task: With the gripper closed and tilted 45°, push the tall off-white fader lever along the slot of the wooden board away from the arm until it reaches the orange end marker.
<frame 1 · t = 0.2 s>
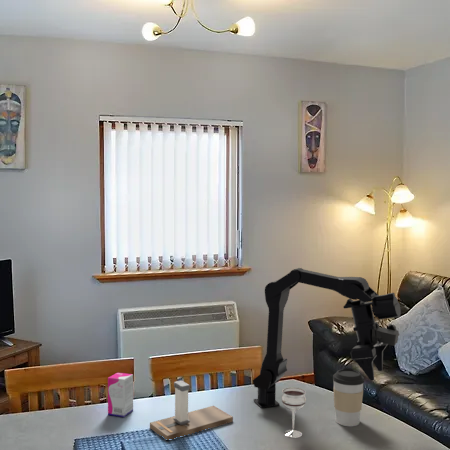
hand: (376, 375, 154), 15 cm above the table, tool pointing down, fingers open, 9 cm apart
fader lever: (181, 402, 153), point 7 cm above the table, slide at 0.0 cm
wooden board: (191, 424, 155), on the table
coffee cup: (347, 421, 159), on the table
wineglass: (293, 434, 150), on the table
supplement box: (120, 413, 163), on the table
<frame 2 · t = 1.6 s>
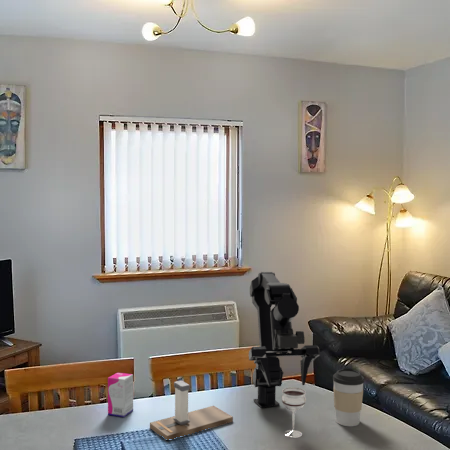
hand: (286, 385, 143), 16 cm above the table, tool tilted 30°, fingers open, 9 cm apart
nothing on the table moved.
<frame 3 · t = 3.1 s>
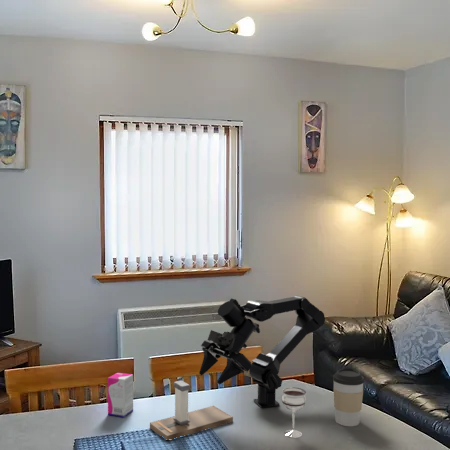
hand: (209, 378, 158), 13 cm above the table, tool tilted 45°, fingers open, 9 cm apart
nothing on the table moved.
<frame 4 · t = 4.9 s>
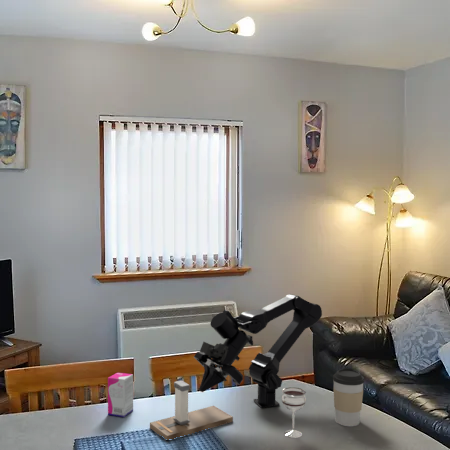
hand: (200, 391, 157), 9 cm above the table, tool tilted 45°, fingers closed
nothing on the table moved.
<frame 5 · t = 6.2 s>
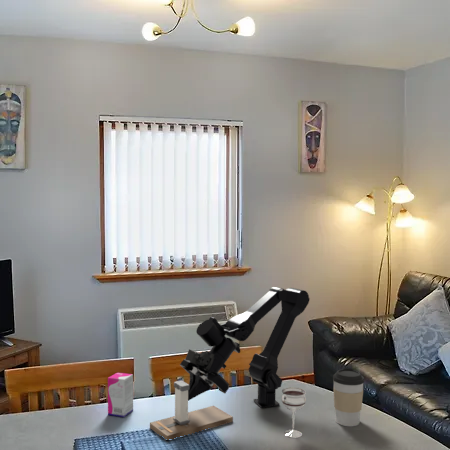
hand: (186, 399, 154), 8 cm above the table, tool tilted 45°, fingers closed, pressing on fader lever
fader lever: (181, 402, 153), point 7 cm above the table, slide at 0.0 cm, touching gripper
everything else where it was.
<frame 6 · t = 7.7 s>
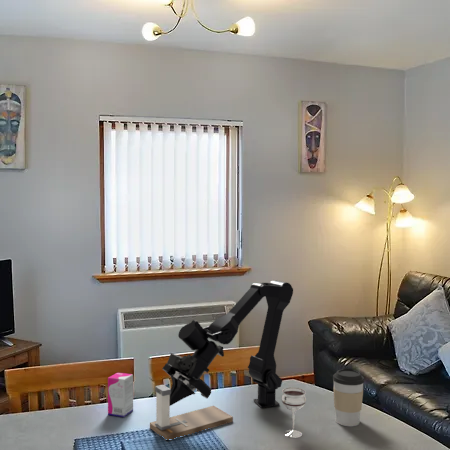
hand: (167, 404, 150), 8 cm above the table, tool tilted 45°, fingers closed, pressing on fader lever
fader lever: (162, 407, 150), point 7 cm above the table, slide at 6.0 cm, touching gripper
everything else where it was.
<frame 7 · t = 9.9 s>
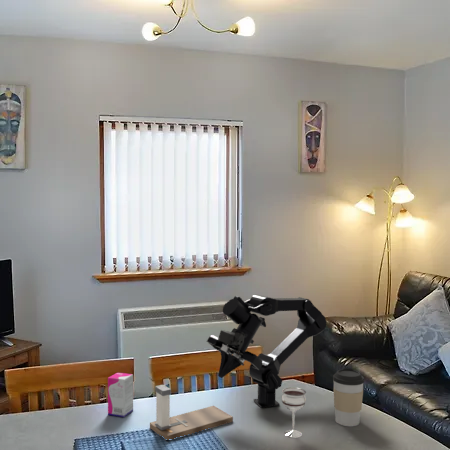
hand: (219, 377, 160), 12 cm above the table, tool tilted 40°, fingers closed
fader lever: (162, 407, 150), point 7 cm above the table, slide at 6.0 cm
everything else where it was.
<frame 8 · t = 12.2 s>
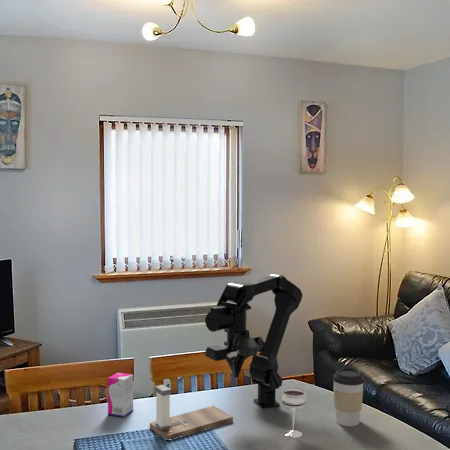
hand: (235, 377, 161), 12 cm above the table, tool pointing down, fingers closed
nothing on the table moved.
at the end: fader lever slide at 6.0 cm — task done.
